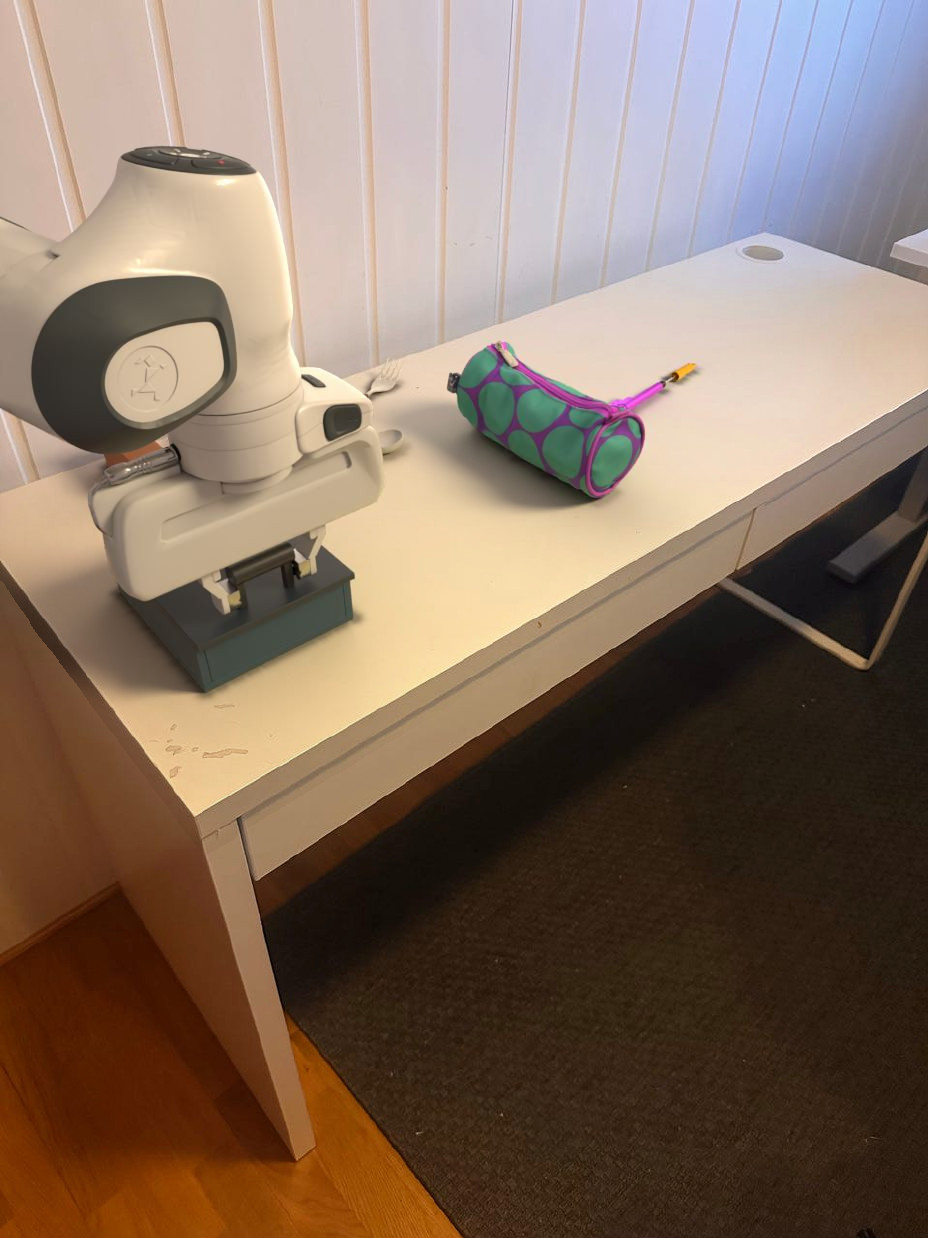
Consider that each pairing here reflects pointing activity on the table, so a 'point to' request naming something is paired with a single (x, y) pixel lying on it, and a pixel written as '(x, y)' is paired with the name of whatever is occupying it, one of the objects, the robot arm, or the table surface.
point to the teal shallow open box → (249, 636)
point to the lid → (251, 594)
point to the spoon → (390, 440)
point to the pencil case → (548, 421)
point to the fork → (384, 380)
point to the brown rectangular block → (131, 454)
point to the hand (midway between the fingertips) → (267, 589)
